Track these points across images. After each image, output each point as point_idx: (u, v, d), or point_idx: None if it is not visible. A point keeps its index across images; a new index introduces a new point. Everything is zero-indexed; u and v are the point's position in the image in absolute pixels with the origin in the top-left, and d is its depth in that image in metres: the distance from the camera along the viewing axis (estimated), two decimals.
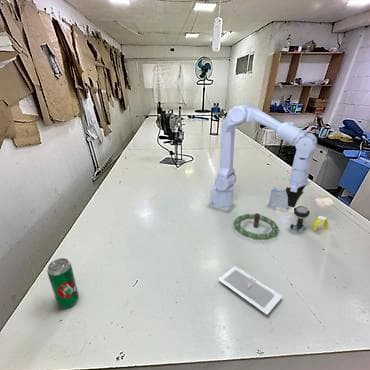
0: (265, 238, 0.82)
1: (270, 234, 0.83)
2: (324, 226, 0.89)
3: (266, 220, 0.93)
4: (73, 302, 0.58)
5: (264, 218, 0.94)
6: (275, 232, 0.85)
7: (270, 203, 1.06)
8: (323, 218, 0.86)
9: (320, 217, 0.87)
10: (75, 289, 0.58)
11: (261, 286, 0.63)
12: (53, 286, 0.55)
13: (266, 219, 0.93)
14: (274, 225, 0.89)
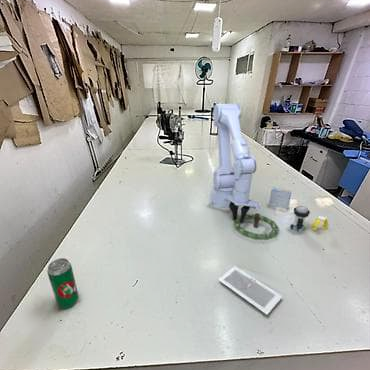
0: (265, 238, 0.82)
1: (270, 234, 0.83)
2: (324, 226, 0.89)
3: (266, 220, 0.93)
4: (73, 302, 0.58)
5: (264, 218, 0.94)
6: (275, 232, 0.85)
7: (270, 203, 1.06)
8: (323, 218, 0.86)
9: (320, 217, 0.87)
10: (75, 289, 0.58)
11: (261, 286, 0.63)
12: (53, 286, 0.55)
13: (266, 219, 0.93)
14: (274, 225, 0.89)
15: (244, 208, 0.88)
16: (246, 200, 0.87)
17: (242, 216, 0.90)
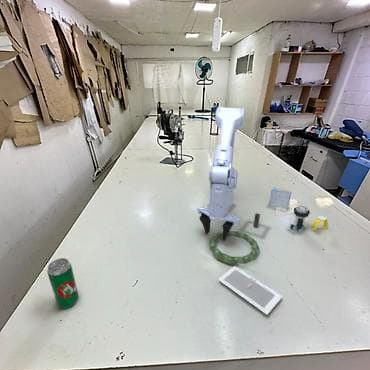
0: (242, 262, 0.71)
1: (248, 257, 0.72)
2: (324, 226, 0.89)
3: (246, 238, 0.82)
4: (73, 302, 0.58)
5: (244, 236, 0.83)
6: (255, 254, 0.74)
7: (270, 203, 1.06)
8: (323, 218, 0.86)
9: (320, 217, 0.87)
10: (75, 289, 0.58)
11: (261, 286, 0.63)
12: (53, 286, 0.55)
13: (246, 237, 0.82)
14: (254, 245, 0.78)
15: (226, 225, 0.75)
16: (223, 214, 0.75)
17: (224, 233, 0.77)
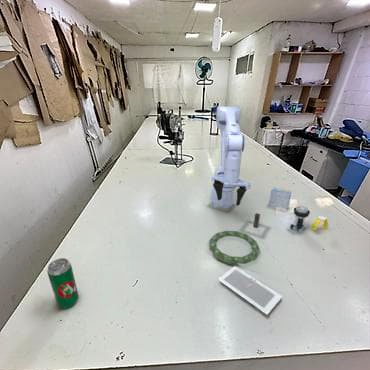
0: (242, 262, 0.71)
1: (248, 257, 0.72)
2: (324, 226, 0.89)
3: (246, 238, 0.82)
4: (73, 302, 0.58)
5: (244, 236, 0.83)
6: (255, 254, 0.74)
7: (270, 203, 1.06)
8: (323, 218, 0.86)
9: (320, 217, 0.87)
10: (75, 289, 0.58)
11: (261, 286, 0.63)
12: (53, 286, 0.55)
13: (246, 237, 0.82)
14: (254, 245, 0.78)
15: (240, 189, 0.84)
16: (236, 179, 0.84)
17: (238, 198, 0.86)
